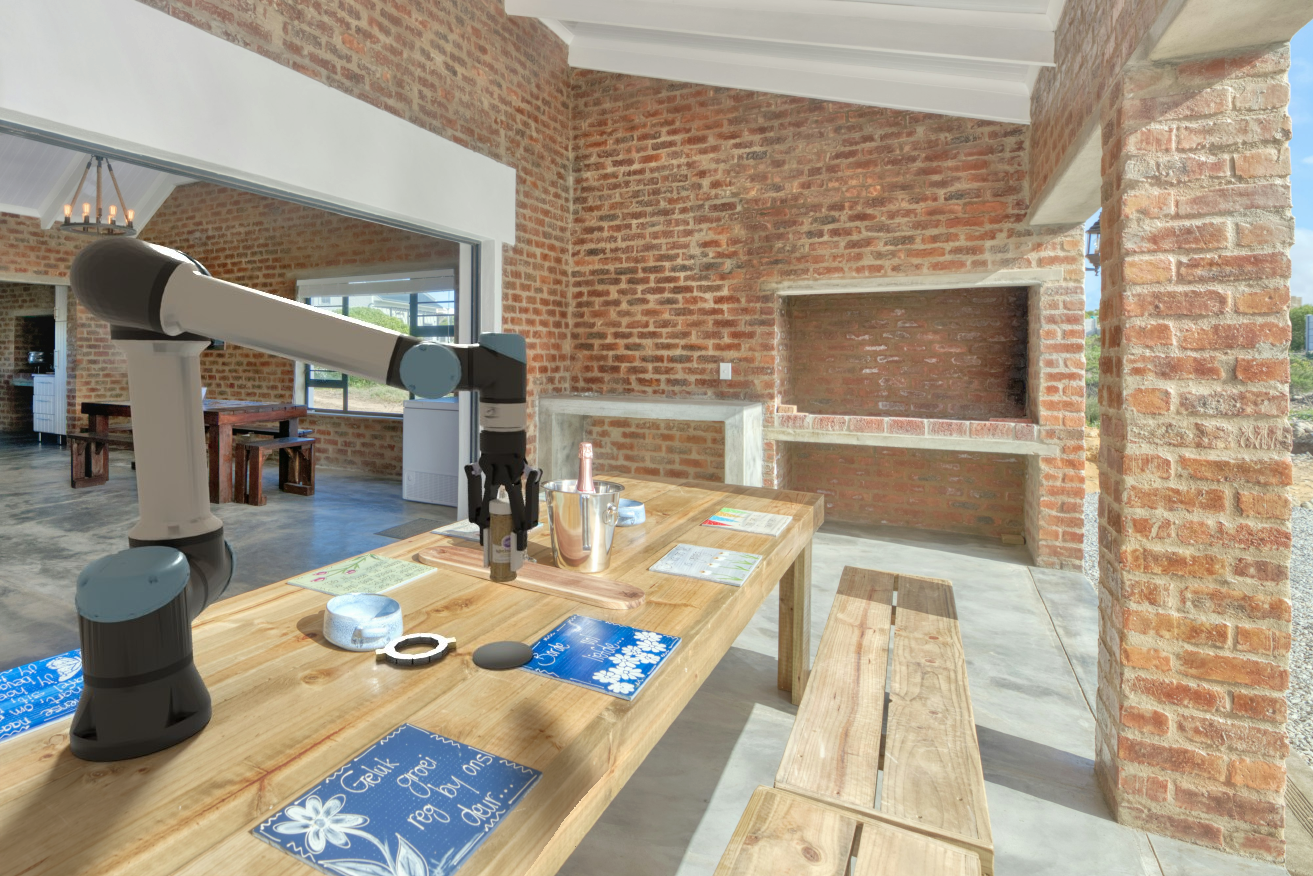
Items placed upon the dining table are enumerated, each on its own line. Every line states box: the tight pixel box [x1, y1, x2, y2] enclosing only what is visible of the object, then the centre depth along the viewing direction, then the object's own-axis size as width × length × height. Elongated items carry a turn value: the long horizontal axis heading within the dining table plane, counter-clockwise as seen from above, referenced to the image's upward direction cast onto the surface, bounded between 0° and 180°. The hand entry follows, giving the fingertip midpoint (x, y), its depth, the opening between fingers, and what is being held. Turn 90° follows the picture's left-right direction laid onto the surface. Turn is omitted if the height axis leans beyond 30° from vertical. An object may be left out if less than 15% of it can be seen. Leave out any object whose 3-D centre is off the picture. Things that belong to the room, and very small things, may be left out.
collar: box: [375, 632, 457, 667], centre depth 116 cm, size 13×10×1 cm
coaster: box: [472, 640, 534, 670], centre depth 116 cm, size 10×10×1 cm
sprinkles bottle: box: [489, 497, 518, 583], centre depth 113 cm, size 5×5×14 cm
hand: (503, 566), depth 114 cm, fingers closed on sprinkles bottle, 4 cm apart
